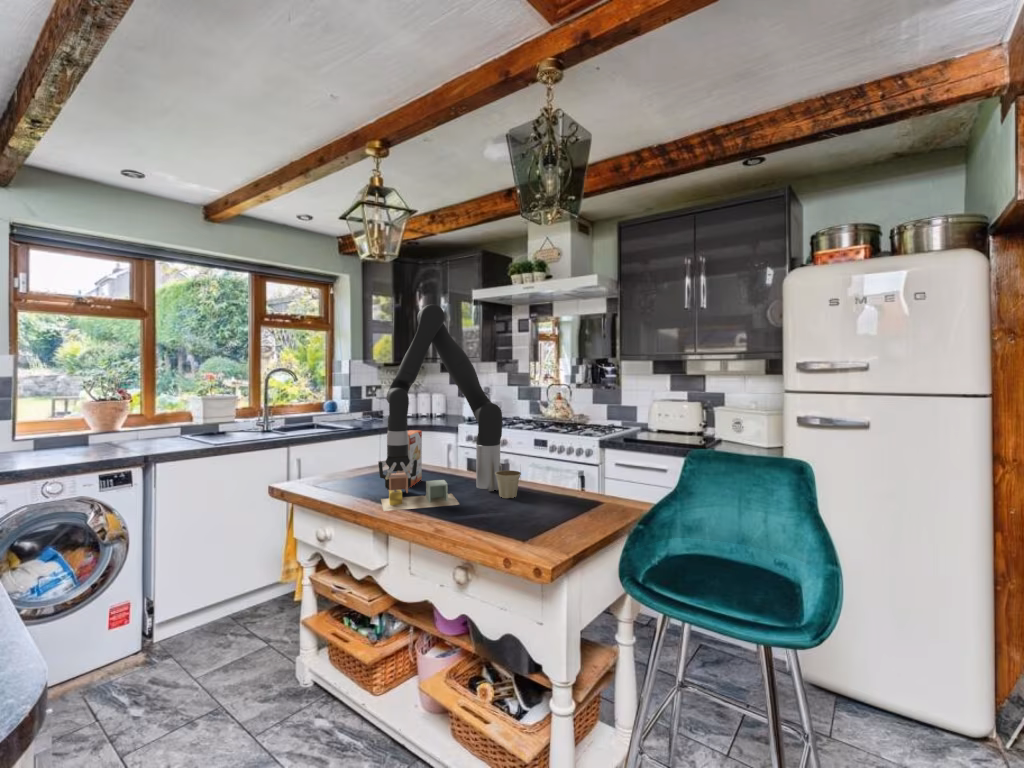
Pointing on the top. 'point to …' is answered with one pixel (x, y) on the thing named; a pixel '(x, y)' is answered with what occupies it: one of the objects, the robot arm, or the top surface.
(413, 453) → the cracker box
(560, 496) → the top surface
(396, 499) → the letter cube
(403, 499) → the board
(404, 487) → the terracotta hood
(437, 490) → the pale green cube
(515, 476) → the flower pot
